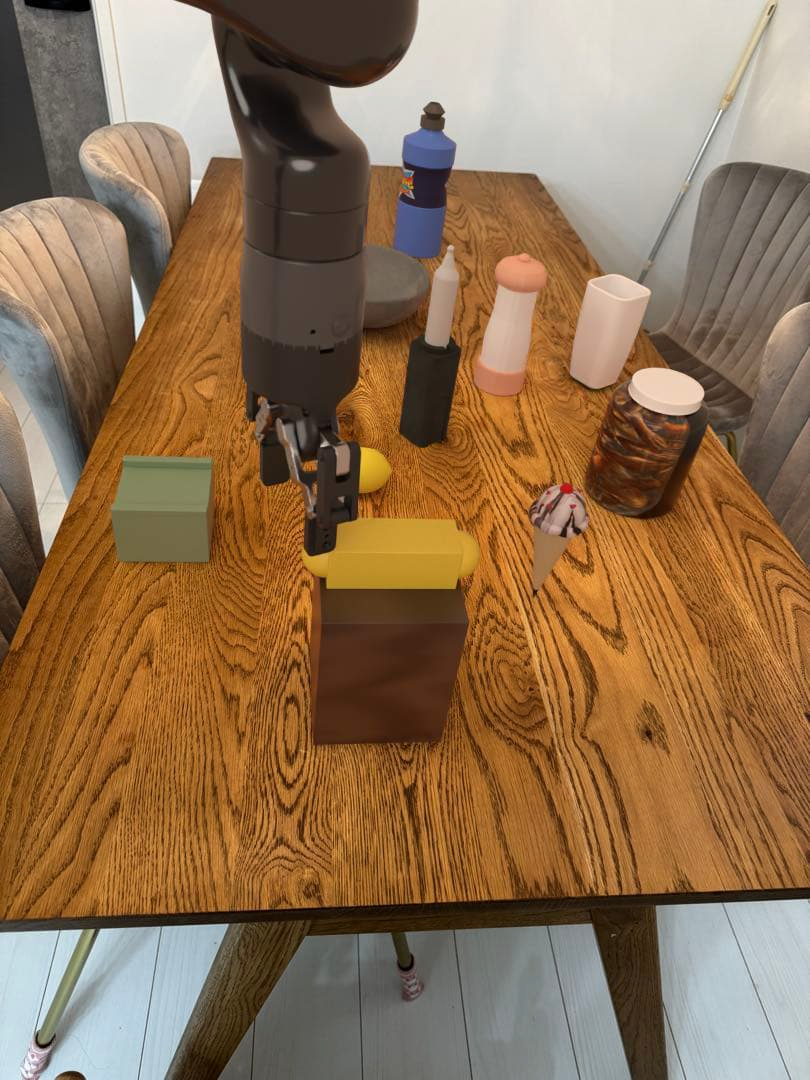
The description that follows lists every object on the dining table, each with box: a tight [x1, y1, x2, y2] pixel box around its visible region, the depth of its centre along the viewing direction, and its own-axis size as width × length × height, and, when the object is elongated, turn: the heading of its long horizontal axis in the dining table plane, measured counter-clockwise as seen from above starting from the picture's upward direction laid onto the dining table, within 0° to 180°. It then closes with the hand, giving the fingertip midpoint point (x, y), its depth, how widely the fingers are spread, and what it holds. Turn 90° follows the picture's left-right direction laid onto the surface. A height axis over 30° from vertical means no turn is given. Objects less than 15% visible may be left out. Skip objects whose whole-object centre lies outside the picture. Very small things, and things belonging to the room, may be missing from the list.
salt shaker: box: [472, 252, 548, 397], centre depth 112 cm, size 7×7×19 cm
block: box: [109, 454, 216, 563], centre depth 84 cm, size 9×9×7 cm
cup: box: [569, 273, 652, 390], centre depth 118 cm, size 7×7×15 cm
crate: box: [309, 574, 470, 746], centre depth 69 cm, size 11×11×15 cm
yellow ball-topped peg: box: [300, 517, 481, 589], centre depth 62 cm, size 14×4×4 cm, turn 96°
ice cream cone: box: [528, 482, 590, 599], centre depth 80 cm, size 6×6×15 cm
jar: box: [583, 367, 711, 519], centre depth 97 cm, size 12×12×15 cm
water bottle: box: [392, 101, 457, 259], centre depth 146 cm, size 9×9×25 cm
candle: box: [398, 244, 462, 448], centre depth 98 cm, size 5×5×25 cm
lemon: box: [359, 446, 393, 494], centre depth 94 cm, size 7×5×5 cm
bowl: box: [363, 242, 431, 329], centre depth 127 cm, size 21×21×8 cm
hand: (296, 515), depth 60 cm, fingers open, 8 cm apart
